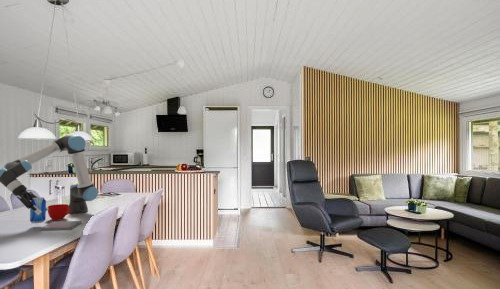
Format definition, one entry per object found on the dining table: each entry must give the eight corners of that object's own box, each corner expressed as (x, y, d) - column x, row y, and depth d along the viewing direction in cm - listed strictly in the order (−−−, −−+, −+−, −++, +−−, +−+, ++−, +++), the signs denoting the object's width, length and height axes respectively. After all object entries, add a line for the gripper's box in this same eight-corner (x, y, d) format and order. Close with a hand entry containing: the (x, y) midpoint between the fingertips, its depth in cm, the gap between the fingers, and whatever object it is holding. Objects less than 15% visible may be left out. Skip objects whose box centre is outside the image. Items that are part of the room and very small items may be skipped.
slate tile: (53, 223, 205) (53, 221, 205) (81, 223, 208) (81, 220, 208) (40, 230, 187) (40, 228, 187) (71, 229, 191) (71, 227, 191)
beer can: (29, 221, 196) (30, 197, 197) (44, 220, 202) (45, 196, 202) (30, 224, 190) (31, 199, 190) (46, 222, 195) (46, 198, 196)
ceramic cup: (62, 222, 209) (63, 208, 210) (42, 220, 213) (43, 206, 213) (76, 218, 222) (77, 205, 222) (57, 216, 226) (58, 203, 226)
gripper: (21, 190, 204) (46, 212, 206) (2, 194, 183) (30, 219, 186) (30, 182, 205) (55, 204, 208) (12, 186, 184) (40, 211, 187)
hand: (43, 211), depth 197 cm, fingers closed on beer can, 8 cm apart
